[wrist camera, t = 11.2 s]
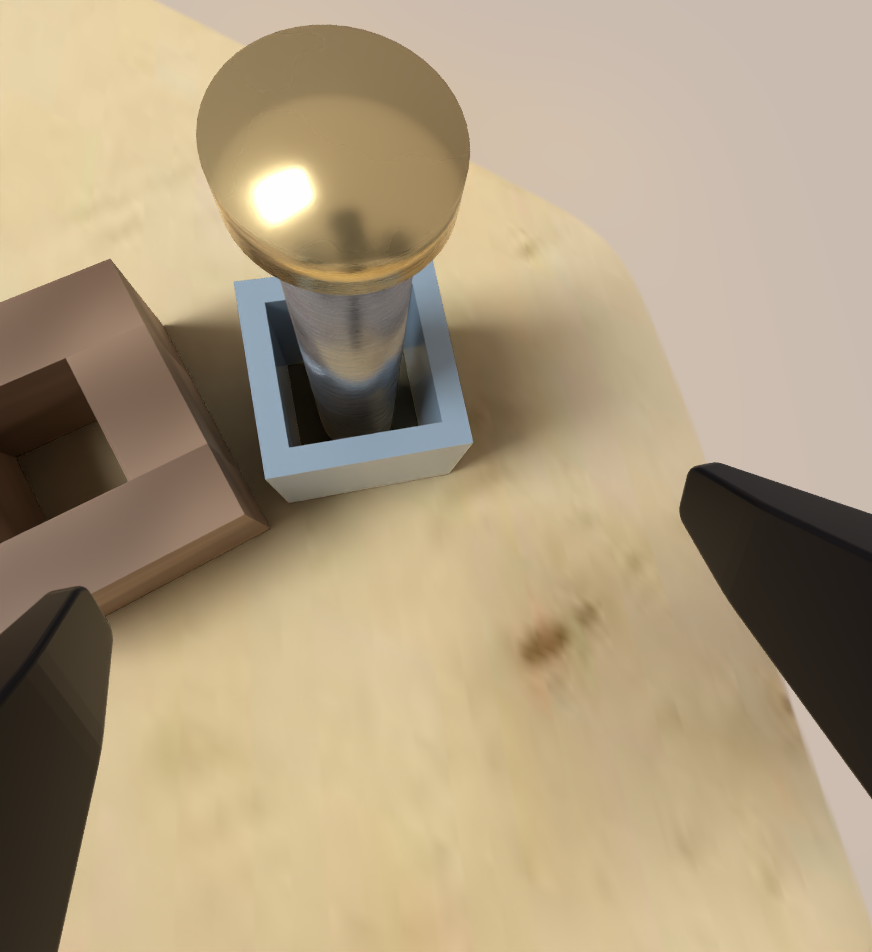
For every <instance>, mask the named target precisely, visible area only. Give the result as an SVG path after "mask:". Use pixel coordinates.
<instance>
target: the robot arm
mask: <svg viewBox="0 0 872 952" xmlns="http://www.w3.org/2000/svg"><path fill="white" fill-rule="evenodd" d="M679 512H680V517H681V520H682V522H683V524H684V526H685V528H686V530H687V531H688V533H689V535H690V536H691V538H692V540H693V542H694V543H695V545H696V547H697V549H698V550H699V552H700V554H701V555H702V557H703V559H704V561H705V562H706V564H707V566H708V568H709V569H710V571H711V573H712V574H713V576H714V578H715V580H716V581H717V583H718V585H719V586H720V588H721V590H722V591H723V593H724V595H725V596H726V598H727V599H728V601H729V602H730V604H731V605H732V607H733V608H734V610H735V611H736V612H737V614H738V615H739V617H740V618H741V619H742V621H743V622H744V623H745V625H746V626H747V628H748V629H749V630H750V632H751V633H752V634H753V636H754V637H755V639H756V640H757V641H758V643H759V644H760V646H761V647H762V648H763V650H764V651H765V652H766V654H767V655H768V657H769V658H770V659H771V661H772V662H773V663H774V665H775V666H776V668H777V669H778V670H779V672H780V673H781V674H782V676H783V677H784V679H785V680H786V681H787V683H788V684H789V685H790V687H791V688H792V690H793V691H794V692H795V694H796V695H797V697H798V698H799V699H800V701H801V702H802V703H803V705H804V706H805V707H806V709H807V710H808V712H809V713H810V714H811V716H812V717H813V719H814V720H815V721H816V722H817V724H818V725H819V727H820V728H821V730H822V731H823V732H824V733H825V735H826V736H827V738H828V739H829V741H830V742H831V743H832V745H833V746H834V748H835V749H836V750H837V752H838V753H839V754H840V756H841V757H842V759H843V760H844V761H845V763H846V764H847V765H848V767H849V768H850V770H851V771H852V772H853V774H854V775H855V776H856V778H857V779H858V781H859V782H860V783H861V785H862V786H863V787H864V789H865V790H866V791H867V793H868V794H869V796H870V797H871V799H872V514H870V513H867V512H864V511H861V510H858V509H855V508H852V507H849V506H846V505H843V504H840V503H837V502H834V501H831V500H828V499H825V498H823V497H819V496H817V495H813V494H811V493H808V492H805V491H802V490H799V489H796V488H793V487H790V486H787V485H784V484H781V483H778V482H775V481H772V480H769V479H766V478H763V477H760V476H757V475H754V474H751V473H748V472H745V471H742V470H739V469H736V468H734V467H731V466H728V465H725V464H722V463H715V462H714V463H708V464H703V465H698V466H694V467H693V468H691V469H690V471H689V472H688V474H687V478H686V482H685V486H684V490H683V494H682V498H681V502H680V507H679ZM112 643H113V638H112V631H111V628H110V625H109V623H108V621H107V620H106V618H105V616H104V615H103V613H102V611H101V609H100V608H99V606H98V604H97V603H96V601H95V599H94V598H93V596H92V594H91V593H90V591H89V590H88V589H87V588H85V587H83V586H74V587H69V588H64V589H59V590H54V591H51V592H49V593H47V594H45V595H44V596H43V597H42V598H41V599H40V600H38V601H37V602H36V603H35V604H34V605H33V606H32V607H30V608H29V609H28V610H27V611H26V612H25V613H23V614H22V615H21V616H20V617H19V618H18V619H17V620H15V621H14V622H13V623H12V624H11V625H10V626H9V627H7V628H6V629H5V630H4V631H3V632H2V633H1V634H0V952H58V948H59V944H60V939H61V935H62V930H63V926H64V921H65V916H66V912H67V907H68V903H69V898H70V894H71V889H72V884H73V880H74V875H75V871H76V866H77V862H78V857H79V852H80V848H81V843H82V839H83V834H84V830H85V825H86V820H87V816H88V811H89V807H90V802H91V798H92V793H93V788H94V784H95V779H96V775H97V770H98V765H99V760H100V755H101V750H102V743H103V735H104V726H105V716H106V705H107V695H108V685H109V674H110V664H111V654H112Z"/></svg>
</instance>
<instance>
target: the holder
mask: <svg viewBox="0 0 872 952" xmlns="http://www.w3.org/2000/svg"><path fill="white" fill-rule="evenodd" d="M234 287H235V294H236V300H237V306H238V312H239V319H240V325H241V331H242V337H243V344H244V350H245V356H246V363H247V369H248V375H249V381H250V388H251V394H252V400H253V406H254V413H255V419H256V425H257V432H258V438H259V444H260V450H261V457H262V463H263V469H264V476H265V480H266V481H267V482H268V483H269V484H270V485H271V486H272V487H273V488H274V489H275V490H276V491H277V492H278V493H279V494H280V495H281V496H282V497H283V498H284V499H285V500H286V501H287V502H288V503H293V502H298V501H304V500H309V499H314V498H320V497H325V496H331V495H336V494H342V493H347V492H353V491H358V490H364V489H369V488H374V487H380V486H385V485H391V484H396V483H402V482H407V481H413V480H418V479H424V478H429V477H434V476H440V475H445V474H449V473H450V472H451V471H452V469H453V468H454V467H455V466H456V464H457V463H458V462H459V460H460V459H461V458H462V457H463V455H464V454H465V453H466V452H467V450H468V449H469V448H470V446H471V445H472V444H473V439H472V434H471V430H470V425H469V421H468V417H467V412H466V408H465V403H464V399H463V394H462V390H461V385H460V381H459V376H458V372H457V367H456V363H455V358H454V354H453V349H452V345H451V340H450V336H449V331H448V327H447V322H446V318H445V313H444V309H443V304H442V300H441V295H440V291H439V286H438V282H437V277H436V273H435V268H434V264H433V261H432V262H430V263H429V264H428V265H427V266H426V267H425V268H424V269H423V270H421V271H420V272H419V273H417V274H416V275H414V276H413V279H412V286H411V293H410V300H409V307H408V314H407V321H406V328H405V335H404V342H403V354H404V358H405V363H406V368H407V373H408V378H409V382H410V387H411V392H412V397H413V402H414V407H415V411H416V416H417V421H418V426H416V427H410V428H404V429H398V430H392V431H386V432H380V433H374V434H368V435H362V436H356V437H350V438H344V439H338V440H332V441H326V442H320V443H314V444H308V445H302V446H301V442H300V437H299V431H298V425H297V419H296V413H295V407H294V402H293V396H292V390H291V384H290V378H289V372H288V367H287V365H292V364H298V363H304V361H303V358H302V354H301V351H300V347H299V344H298V341H297V337H296V334H295V330H294V327H293V324H292V320H291V317H290V313H289V310H288V307H287V303H286V300H285V297H284V293H283V290H282V286H281V283H280V280H279V279H278V278H276V277H269V278H261V279H253V280H244V281H236V282H234Z"/></svg>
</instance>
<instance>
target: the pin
mask: <svg viewBox="0 0 872 952" xmlns="http://www.w3.org/2000/svg"><path fill="white" fill-rule="evenodd" d="M196 138H197V149H198V154H199V158H200V162H201V166H202V169H203V171H204V174H205V176H206V179H207V181H208V184H209V186H210V189H211V191H212V194H213V196H214V199H215V201H216V204H217V206H218V209H219V211H220V214H221V216H222V218H223V221H224V223H225V226H226V228H227V229H228V231H229V233H230V234H231V236H232V238H233V239H234V241H235V242H236V243H237V245H238V246H239V247H240V248H241V250H242V251H243V252H244V253H245V254H246V255H247V256H248V257H249V258H250V259H251V260H252V261H253V262H254V263H255V264H257V265H258V266H260V267H261V268H262V269H264V270H265V271H266V272H268V273H269V274H271V275H273V276H274V277H276V278H278V279H279V280H280V283H281V286H282V290H283V293H284V297H285V300H286V303H287V307H288V310H289V313H290V317H291V320H292V324H293V327H294V330H295V334H296V337H297V341H298V344H299V347H300V351H301V354H302V358H303V361H304V364H305V368H306V371H307V375H308V378H309V381H310V385H311V388H312V391H313V395H314V398H315V402H316V405H317V408H318V412H319V415H320V419H321V422H322V425H323V428H324V430H325V431H326V433H327V434H328V436H329V437H330V438H331V439H332V440H338V439H344V438H350V437H356V436H362V435H368V434H374V433H380V432H386V431H389V429H390V427H391V423H392V419H393V412H394V405H395V398H396V391H397V384H398V377H399V370H400V363H401V356H402V349H403V342H404V335H405V328H406V321H407V314H408V307H409V300H410V293H411V286H412V279H413V276H414V275H416V274H417V273H419V272H420V271H421V270H423V269H424V268H425V267H426V266H427V265H428V264H429V263H430V262H432V261H433V259H434V258H435V257H436V256H437V255H438V254H439V252H440V251H441V250H442V248H443V247H444V245H445V244H446V242H447V240H448V239H449V237H450V235H451V232H452V230H453V228H454V225H455V222H456V218H457V214H458V210H459V206H460V202H461V198H462V193H463V189H464V185H465V181H466V177H467V173H468V168H469V159H470V142H469V134H468V129H467V124H466V121H465V118H464V115H463V112H462V110H461V108H460V105H459V104H458V101H457V99H456V98H455V96H454V94H453V93H452V91H451V90H450V88H449V87H448V85H447V84H446V82H445V81H444V80H443V79H442V78H441V77H440V75H439V74H438V73H437V72H436V71H435V70H434V69H433V68H432V67H431V66H430V65H429V64H428V63H426V62H425V61H424V60H423V59H422V58H420V57H419V56H418V55H416V54H415V53H413V52H412V51H411V50H409V49H407V48H406V47H404V46H402V45H400V44H399V43H397V42H395V41H392V40H390V39H388V38H386V37H383V36H381V35H378V34H375V33H372V32H369V31H366V30H362V29H357V28H352V27H347V26H337V25H309V26H300V27H295V28H290V29H286V30H281V31H278V32H275V33H273V34H270V35H267V36H265V37H262V38H260V39H259V40H257V41H255V42H253V43H251V44H249V45H248V46H246V47H245V48H243V49H242V50H240V51H239V52H237V53H236V54H235V55H234V56H233V57H232V58H231V59H229V60H228V61H227V62H226V63H225V64H224V65H223V66H222V68H221V69H220V70H219V71H218V73H217V74H216V75H215V76H214V78H213V80H212V81H211V83H210V85H209V86H208V88H207V90H206V92H205V95H204V97H203V100H202V102H201V105H200V109H199V114H198V118H197V130H196Z"/></svg>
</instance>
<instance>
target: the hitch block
mask: <svg viewBox="0 0 872 952" xmlns="http://www.w3.org/2000/svg"><path fill="white" fill-rule="evenodd" d="M96 420H97V421H98V423H99V425H100V427H101V429H102V431H103V433H104V435H105V437H106V439H107V441H108V443H109V445H110V447H111V449H112V451H113V453H114V455H115V457H116V459H117V461H118V463H119V465H120V467H121V468H122V470H123V472H124V474H125V476H126V478H127V480H128V482H126V483H124V484H122V485H120V486H118V487H116V488H114V489H112V490H110V491H108V492H106V493H104V494H102V495H100V496H97V497H95V498H93V499H91V500H89V501H87V502H85V503H83V504H81V505H79V506H77V507H75V508H73V509H71V510H69V511H66V512H64V513H62V514H60V515H58V516H56V517H54V518H52V519H50V520H48V521H46V519H45V517H44V515H43V513H42V511H41V509H40V507H39V505H38V503H37V501H36V499H35V497H34V495H33V493H32V490H31V488H30V486H29V484H28V482H27V480H26V478H25V476H24V474H23V472H22V470H21V468H20V466H19V464H18V462H17V459H16V457H17V456H19V455H22V454H24V453H26V452H28V451H30V450H32V449H35V448H37V447H39V446H41V445H43V444H46V443H48V442H50V441H52V440H54V439H57V438H59V437H61V436H63V435H65V434H68V433H70V432H72V431H74V430H76V429H79V428H81V427H83V426H85V425H87V424H90V423H92V422H94V421H96ZM269 529H270V527H269V525H268V523H267V521H266V519H265V517H264V515H263V513H262V512H261V510H260V508H259V506H258V504H257V502H256V500H255V498H254V496H253V495H252V493H251V491H250V489H249V487H248V485H247V483H246V481H245V479H244V478H243V476H242V474H241V472H240V470H239V468H238V466H237V464H236V462H235V461H234V459H233V457H232V455H231V453H230V451H229V449H228V447H227V445H226V444H225V442H224V440H223V438H222V436H221V434H220V432H219V430H218V428H217V427H216V425H215V423H214V421H213V419H212V417H211V415H210V413H209V412H208V410H207V408H206V406H205V404H204V402H203V400H202V398H201V396H200V395H199V393H198V391H197V389H196V387H195V385H194V383H193V381H192V379H191V378H190V376H189V374H188V372H187V370H186V368H185V366H184V364H183V362H182V361H181V359H180V357H179V355H178V353H177V351H176V349H175V347H174V345H173V344H172V342H171V340H170V338H169V336H168V334H167V332H166V330H165V328H164V327H163V325H162V323H161V322H160V321H159V320H158V318H157V317H156V316H155V315H154V313H153V312H152V311H151V310H150V308H149V307H148V306H147V305H146V303H145V302H144V301H143V299H142V298H141V297H140V296H139V294H138V293H137V292H136V291H135V289H134V288H133V287H132V286H131V284H130V283H129V282H128V281H127V279H126V278H125V277H124V275H123V274H122V273H121V272H120V270H119V269H118V268H117V267H116V265H115V264H114V263H113V262H112V260H111V259H108V260H106V261H103V262H101V263H98V264H96V265H93V266H91V267H88V268H86V269H83V270H81V271H78V272H76V273H73V274H70V275H68V276H65V277H63V278H60V279H58V280H55V281H53V282H50V283H48V284H45V285H43V286H40V287H38V288H35V289H33V290H30V291H28V292H25V293H23V294H20V295H18V296H15V297H13V298H10V299H8V300H5V301H3V302H0V634H1V633H2V632H3V631H4V630H5V629H6V628H7V627H9V626H10V625H11V624H12V623H13V622H14V621H15V620H17V619H18V618H19V617H20V616H21V615H22V614H23V613H25V612H26V611H27V610H28V609H29V608H30V607H32V606H33V605H34V604H35V603H36V602H37V601H38V600H40V599H41V598H42V597H43V596H44V595H45V594H47V593H49V592H51V591H54V590H59V589H64V588H69V587H74V586H83V587H85V588H87V589H88V590H89V591H90V593H91V594H92V596H93V598H94V599H95V601H96V603H97V604H98V606H99V608H100V609H101V611H102V613H103V615H104V616H106V615H108V614H110V613H112V612H114V611H116V610H118V609H119V608H121V607H123V606H125V605H127V604H129V603H131V602H133V601H135V600H137V599H138V598H140V597H142V596H144V595H146V594H148V593H150V592H152V591H154V590H155V589H157V588H159V587H161V586H163V585H165V584H167V583H169V582H171V581H172V580H174V579H176V578H178V577H180V576H182V575H184V574H186V573H188V572H189V571H191V570H193V569H195V568H197V567H199V566H201V565H203V564H205V563H206V562H208V561H210V560H212V559H214V558H216V557H218V556H220V555H222V554H223V553H225V552H227V551H229V550H231V549H233V548H235V547H237V546H239V545H240V544H242V543H244V542H246V541H248V540H250V539H252V538H254V537H256V536H258V535H259V534H261V533H263V532H265V531H267V530H269Z"/></svg>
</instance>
